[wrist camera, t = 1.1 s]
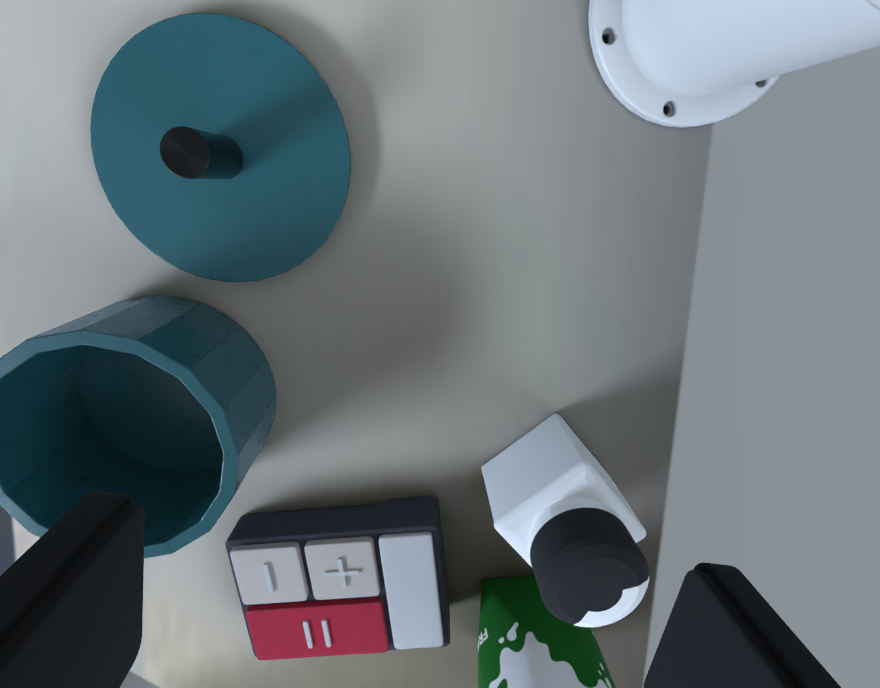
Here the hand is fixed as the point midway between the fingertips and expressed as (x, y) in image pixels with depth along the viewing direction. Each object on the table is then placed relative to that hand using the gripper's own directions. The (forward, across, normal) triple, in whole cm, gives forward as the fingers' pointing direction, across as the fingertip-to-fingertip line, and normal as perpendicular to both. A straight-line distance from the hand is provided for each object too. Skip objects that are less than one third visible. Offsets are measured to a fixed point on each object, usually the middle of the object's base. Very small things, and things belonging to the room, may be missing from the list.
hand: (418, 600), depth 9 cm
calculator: (+27, +1, +22) cm, 35 cm away
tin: (+26, +15, +10) cm, 32 cm away
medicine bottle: (+26, -12, +12) cm, 31 cm away
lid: (+26, +12, -6) cm, 29 cm away
